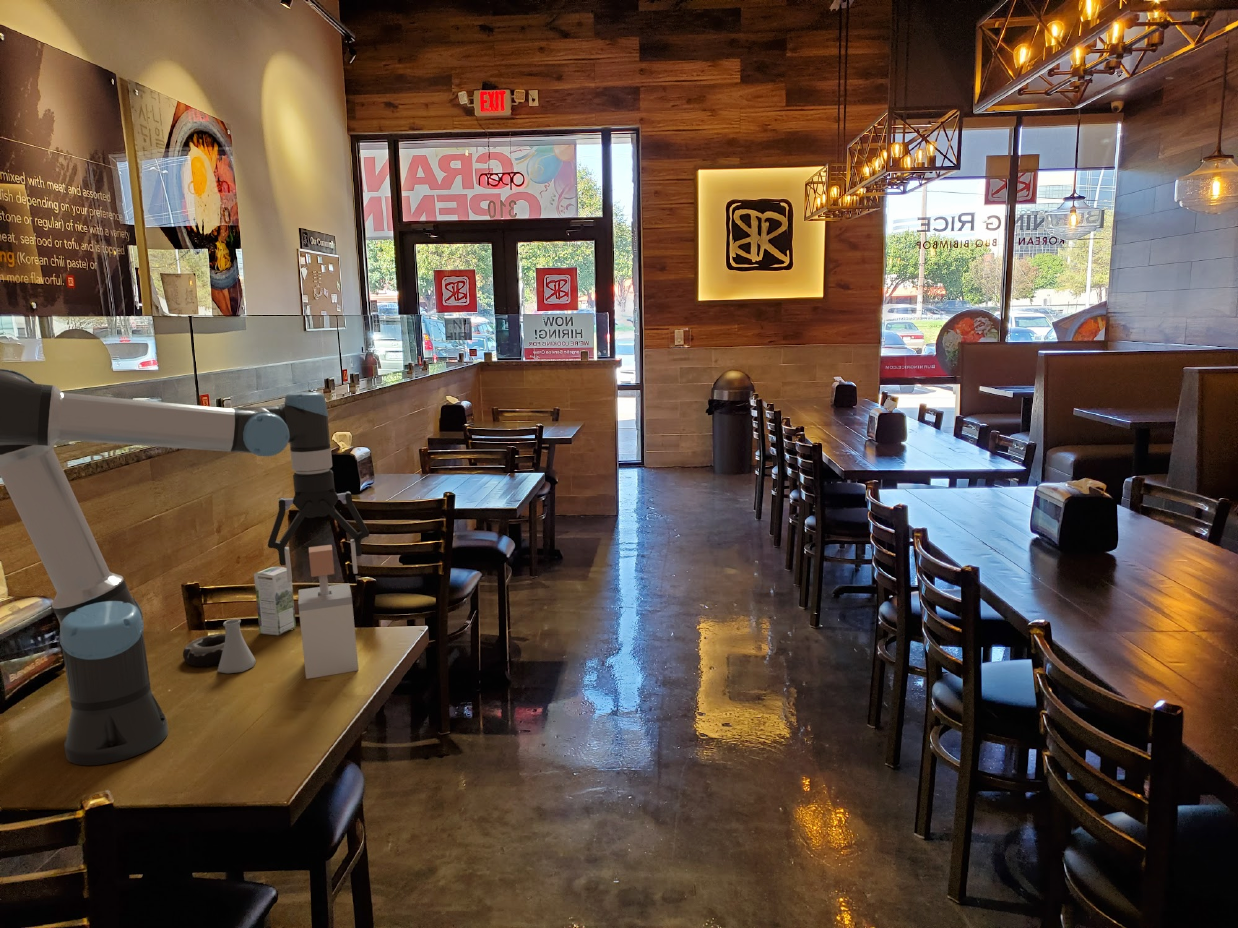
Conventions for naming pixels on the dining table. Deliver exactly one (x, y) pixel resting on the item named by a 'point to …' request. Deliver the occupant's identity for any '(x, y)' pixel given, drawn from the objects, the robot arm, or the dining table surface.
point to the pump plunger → (321, 565)
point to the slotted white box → (328, 631)
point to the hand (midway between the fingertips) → (323, 576)
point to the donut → (205, 650)
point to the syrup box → (274, 601)
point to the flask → (235, 650)
